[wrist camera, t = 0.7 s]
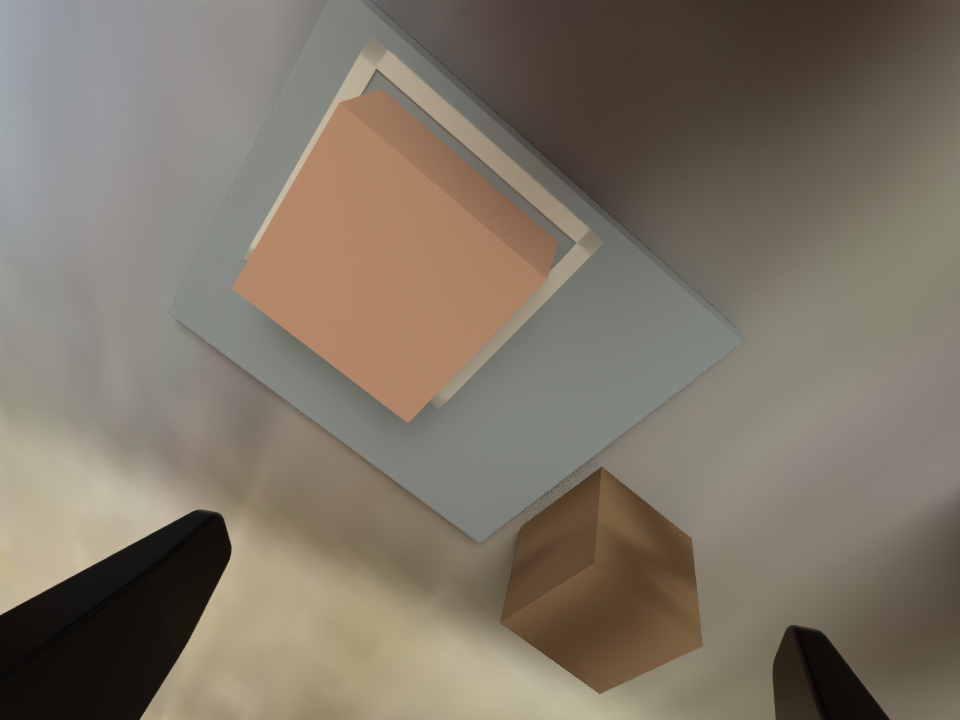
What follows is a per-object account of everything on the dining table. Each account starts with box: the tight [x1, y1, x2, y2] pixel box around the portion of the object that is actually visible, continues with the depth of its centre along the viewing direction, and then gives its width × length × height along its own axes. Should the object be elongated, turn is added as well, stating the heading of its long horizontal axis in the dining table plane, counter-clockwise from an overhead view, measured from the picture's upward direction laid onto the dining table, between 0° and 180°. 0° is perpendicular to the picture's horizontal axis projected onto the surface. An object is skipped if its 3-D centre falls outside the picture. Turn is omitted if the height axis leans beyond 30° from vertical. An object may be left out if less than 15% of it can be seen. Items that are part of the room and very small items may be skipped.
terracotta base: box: [232, 89, 559, 423], centre depth 19 cm, size 7×7×3 cm
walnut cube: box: [500, 467, 703, 694], centre depth 24 cm, size 5×5×5 cm
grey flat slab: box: [167, 0, 743, 543], centre depth 22 cm, size 16×14×1 cm
